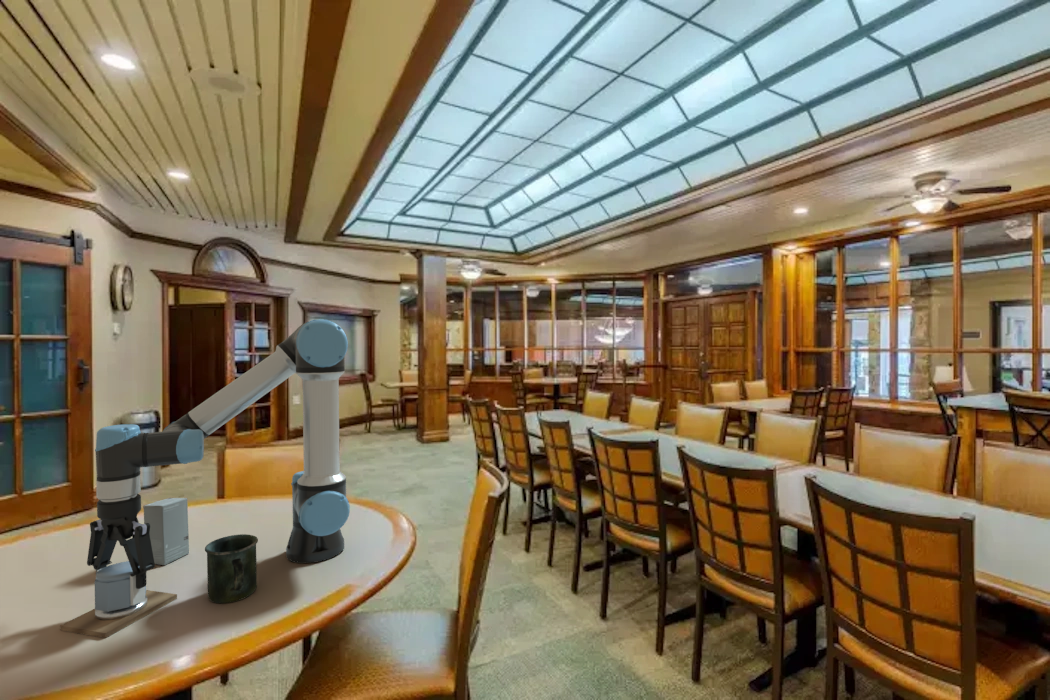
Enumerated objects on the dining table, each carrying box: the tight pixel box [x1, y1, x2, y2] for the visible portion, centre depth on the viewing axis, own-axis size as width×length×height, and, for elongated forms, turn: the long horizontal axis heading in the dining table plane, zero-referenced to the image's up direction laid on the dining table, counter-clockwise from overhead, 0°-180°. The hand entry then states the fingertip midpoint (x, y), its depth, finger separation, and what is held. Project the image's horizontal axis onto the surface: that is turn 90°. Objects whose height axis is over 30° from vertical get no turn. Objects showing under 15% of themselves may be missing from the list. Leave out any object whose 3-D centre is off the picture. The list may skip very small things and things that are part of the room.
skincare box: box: [142, 497, 190, 566], centre depth 140 cm, size 8×7×16 cm
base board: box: [59, 589, 178, 639], centre depth 112 cm, size 12×16×1 cm
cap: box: [94, 560, 147, 612], centre depth 112 cm, size 8×8×7 cm
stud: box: [95, 596, 147, 620], centre depth 112 cm, size 9×9×6 cm
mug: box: [204, 533, 259, 604], centre depth 119 cm, size 11×15×12 cm
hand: (121, 599), depth 112 cm, fingers closed on cap, 8 cm apart
